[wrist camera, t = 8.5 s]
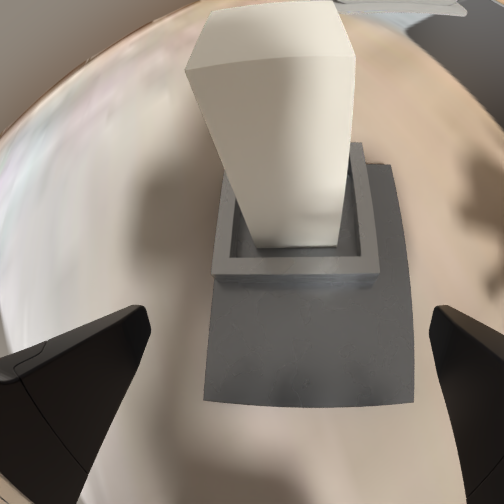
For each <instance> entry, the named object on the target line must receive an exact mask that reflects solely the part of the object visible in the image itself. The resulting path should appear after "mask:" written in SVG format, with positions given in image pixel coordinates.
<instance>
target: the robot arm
mask: <svg viewBox="0 0 504 504" xmlns="http://www.w3.org/2000/svg"><path fill="white" fill-rule="evenodd" d="M150 334H151V326H150V322H149V319H148V315H147V311H146V308H145V307H144V306H142V305H131V306H128V307H126V308H124V309H121V310H119V311H116V312H114V313H112V314H109V315H107V316H104V317H102V318H100V319H97V320H95V321H92V322H90V323H88V324H85V325H83V326H80V327H78V328H76V329H73V330H71V331H68V332H66V333H64V334H61V335H59V336H56V337H54V338H51V339H49V340H48V341H44V342H42V343H39V344H37V345H34V346H32V347H29V348H27V349H24V350H21V351H19V352H16V353H13V354H10V355H7V356H4V357H1V358H0V504H76V503H77V501H78V498H79V496H80V493H81V491H82V489H83V486H84V484H85V482H86V479H87V477H88V474H89V472H90V470H91V467H92V465H93V463H94V461H95V458H96V456H97V454H98V452H99V449H100V447H101V445H102V443H103V441H104V438H105V436H106V434H107V432H108V430H109V428H110V425H111V423H112V421H113V419H114V417H115V415H116V413H117V410H118V408H119V406H120V404H121V402H122V400H123V398H124V396H125V394H126V392H127V390H128V388H129V386H130V384H131V382H132V379H133V377H134V375H135V373H136V371H137V369H138V366H139V364H140V361H141V358H142V355H143V353H144V350H145V347H146V345H147V342H148V339H149V337H150ZM429 338H430V342H431V347H432V351H433V356H434V361H435V366H436V371H437V375H438V379H439V383H440V386H441V389H442V393H443V396H444V399H445V403H446V406H447V410H448V414H449V418H450V421H451V425H452V429H453V433H454V438H455V442H456V446H457V451H458V455H459V460H460V465H461V470H462V476H463V482H464V488H465V494H466V498H467V499H466V502H467V504H504V335H503V334H501V333H499V332H497V331H496V330H494V329H492V328H490V327H488V326H486V325H484V324H483V323H481V322H479V321H477V320H475V319H473V318H471V317H469V316H468V315H466V314H464V313H462V312H460V311H458V310H456V309H454V308H452V307H450V306H448V305H440V306H436V307H435V308H434V311H433V315H432V320H431V324H430V328H429Z"/></svg>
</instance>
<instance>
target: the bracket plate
mask: <svg viewBox="0 0 504 504" xmlns="http://www.w3.org/2000/svg"><path fill="white" fill-rule="evenodd" d="M211 275H212V276H213V277H214V278H215V279H214V288H213V298H212V308H211V318H210V328H209V339H208V350H207V361H206V373H205V386H204V398H203V400H205V401H213V402H222V403H232V404H243V405H256V406H273V407H302V408H334V407H363V406H379V405H392V404H403V403H412V402H414V330H413V312H412V299H411V287H410V277H409V268H408V260H407V252H406V245H405V238H404V231H403V225H402V219H401V213H400V208H399V202H398V197H397V192H396V187H395V182H394V178H393V173H392V169H391V165H382V164H366V162H365V157H364V152H363V147H362V143H350V150H349V160H348V169H347V178H346V186H345V194H344V202H343V209H342V216H341V223H340V230H339V236H338V243H337V247H319V248H256V246H255V244H254V241H253V239H252V236H251V234H250V231H249V229H248V226H247V224H246V221H245V219H244V216H243V214H242V211H241V209H240V207H239V204H238V202H237V199H236V197H235V194H234V192H233V189H232V187H231V184H230V182H229V179H228V177H227V174H226V172H225V169H224V175H223V182H222V190H221V197H220V204H219V212H218V219H217V227H216V235H215V243H214V251H213V260H212V268H211Z"/></svg>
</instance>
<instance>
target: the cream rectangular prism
mask: <svg viewBox="0 0 504 504" xmlns="http://www.w3.org/2000/svg"><path fill="white" fill-rule="evenodd" d="M355 64H356V56H355V53H354V50H353V48H352V45H351V43H350V40H349V38H348V35H347V33H346V30H345V28H344V25H343V23H342V21H341V18H340V16H339V14H338V11H337V9H336V7H335V5H334V3H333V1H330V0H319V1H290V2H276V3H265V4H255V5H247V6H240V7H233V8H227V9H221V10H216V11H211V13H210V15H209V17H208V19H207V21H206V23H205V25H204V27H203V29H202V32H201V34H200V36H199V38H198V40H197V43H196V45H195V47H194V49H193V52H192V54H191V56H190V59H189V61H188V63H187V66H186V68H185V73H186V76H187V78H188V81H189V83H190V85H191V88H192V90H193V93H194V95H195V98H196V100H197V103H198V105H199V108H200V110H201V112H202V115H203V117H204V120H205V122H206V125H207V127H208V130H209V132H210V135H211V137H212V140H213V142H214V144H215V147H216V149H217V152H218V154H219V157H220V159H221V162H222V164H223V167H224V169H225V172H226V174H227V177H228V179H229V182H230V184H231V187H232V189H233V192H234V194H235V197H236V199H237V202H238V204H239V207H240V209H241V211H242V214H243V216H244V219H245V221H246V224H247V226H248V229H249V231H250V234H251V236H252V239H253V241H254V244H255V246H256V248H319V247H337V243H338V236H339V230H340V223H341V216H342V209H343V202H344V194H345V186H346V178H347V169H348V160H349V150H350V140H351V129H352V116H353V102H354V86H355Z"/></svg>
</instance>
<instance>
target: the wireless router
mask: <svg viewBox="0 0 504 504" xmlns="http://www.w3.org/2000/svg"><path fill="white" fill-rule="evenodd" d="M311 1H319V0H311ZM330 1H333V3H334V5H335V7H336V9H337V11H338V13H339V14H368V13H429V14H439V15H451V16H461V17H464V16H466V15H467V10H466V9H465V8H464V7H462V6H461V5H460V4H458V3H456V2H457V1H458V0H330Z"/></svg>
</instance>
